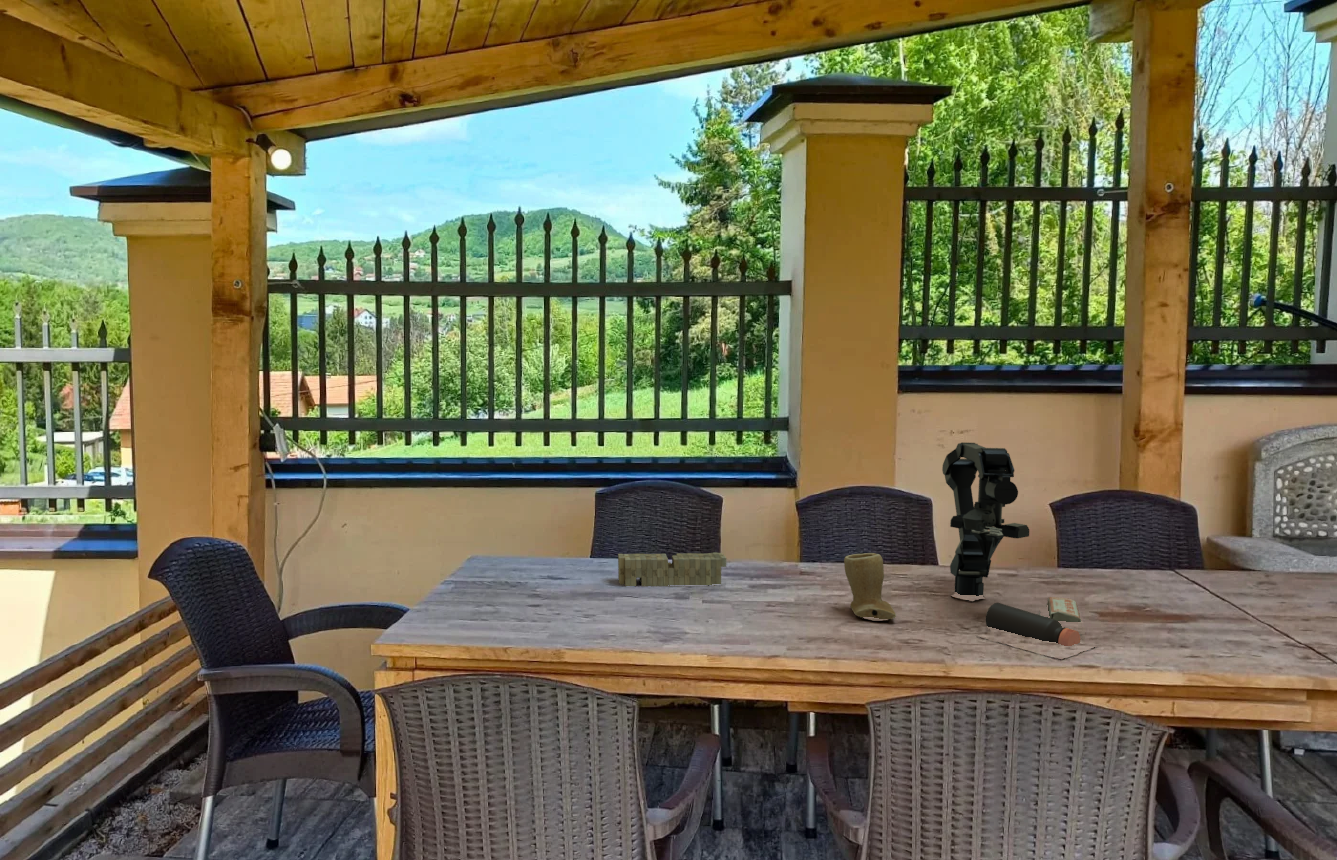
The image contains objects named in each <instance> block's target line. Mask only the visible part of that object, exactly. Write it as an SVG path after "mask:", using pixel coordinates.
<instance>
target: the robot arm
mask: <svg viewBox="0 0 1337 860" xmlns="http://www.w3.org/2000/svg"><path fill="white" fill-rule="evenodd" d="M941 470H942V474H943V476H944V478H945V479H944V480H945V483H946V484H947V485H948V487H949V488H950V489H951V490H952V491H953V498H954V506H955V513H956V515H953V516H952V517H951V518H950V524H949V527H950V528H955V529H958V535H959V542H958V544H957V547H956V548H955V552H954V553H955V554H954V557H953V559H952V560H951V563H950V565H949V567H950V568H949V569H950V574H952V575H953V576H954V592H957V593H958V594H960V595H976V596H979V595H983V596H984V588H985V587H984V585H985V584H984V582H983V578H988V577H989V574H990V570H991V569H990V568H991V565H992V563H991V562H992V560H991V559H992V556H993V555H994V553H995V551H996V549H997V547H998V546H999V544H1000V543H1001V542H1002V540H1003V539H1004V537H1006V538H1011V539H1022V538H1027V537H1030V529H1029V527H1028V525H1027V524H1023V523H1018V522H1012V523H1007V524H1006V523H1005V518H1003V517H1002V516H1003V508H1004V507H1006V505H1011V504H1013V503H1014V502H1015V501H1016V500H1017V498H1018V497H1019V496H1018V495H1019V490H1018V487H1017V485H1016V484H1015V483H1014V482H1012V481H1011V478H1014V476H1015V468H1014V464H1013V462H1012V458H1011V456H1010V453H1009V452H1008V450H1007V449H1006V448H1005V447H1004V448H1003V447H1000V448H999V447H985V446H983V445H979V444H978V443H976V442H959V443H957V445H956V447H955V448H954V449H953V450H951V451H950V452H949V453H947V454H946V456H945V459H944V460H943V462H942V469H941ZM977 473H978V476H977ZM976 477H978V495H977V501H974V497H973V493H972V492H973V491H972V486H973V483H974V482H975V480H976ZM954 592H953V593H954Z"/></svg>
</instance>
